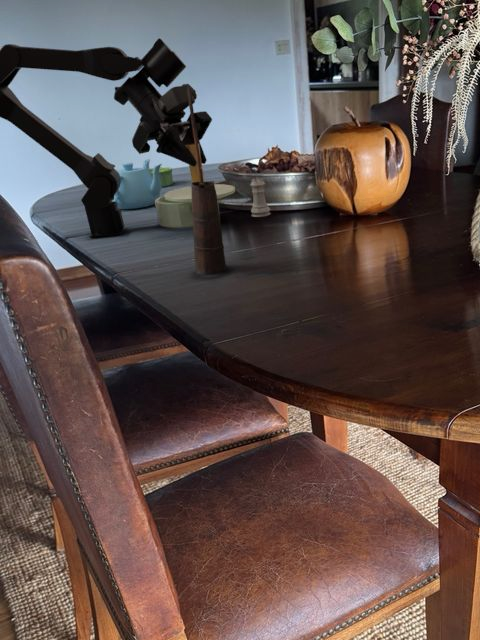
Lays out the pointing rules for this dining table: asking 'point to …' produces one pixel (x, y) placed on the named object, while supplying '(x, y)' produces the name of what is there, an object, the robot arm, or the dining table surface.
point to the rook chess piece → (259, 199)
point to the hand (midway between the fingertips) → (200, 163)
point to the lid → (186, 193)
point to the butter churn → (205, 219)
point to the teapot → (137, 186)
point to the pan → (174, 213)
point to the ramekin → (164, 176)
